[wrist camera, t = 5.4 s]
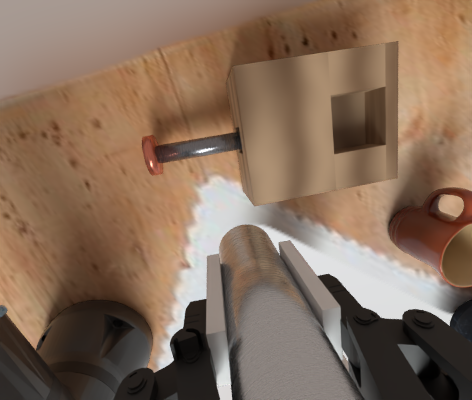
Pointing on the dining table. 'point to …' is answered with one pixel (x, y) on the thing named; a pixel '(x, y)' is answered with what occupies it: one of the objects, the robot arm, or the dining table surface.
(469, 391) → the robot arm
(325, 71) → the dock
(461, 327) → the bowl
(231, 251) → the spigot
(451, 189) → the mug
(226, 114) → the dining table surface
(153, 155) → the lock pin
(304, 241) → the dining table surface
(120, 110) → the dining table surface
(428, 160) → the dining table surface
